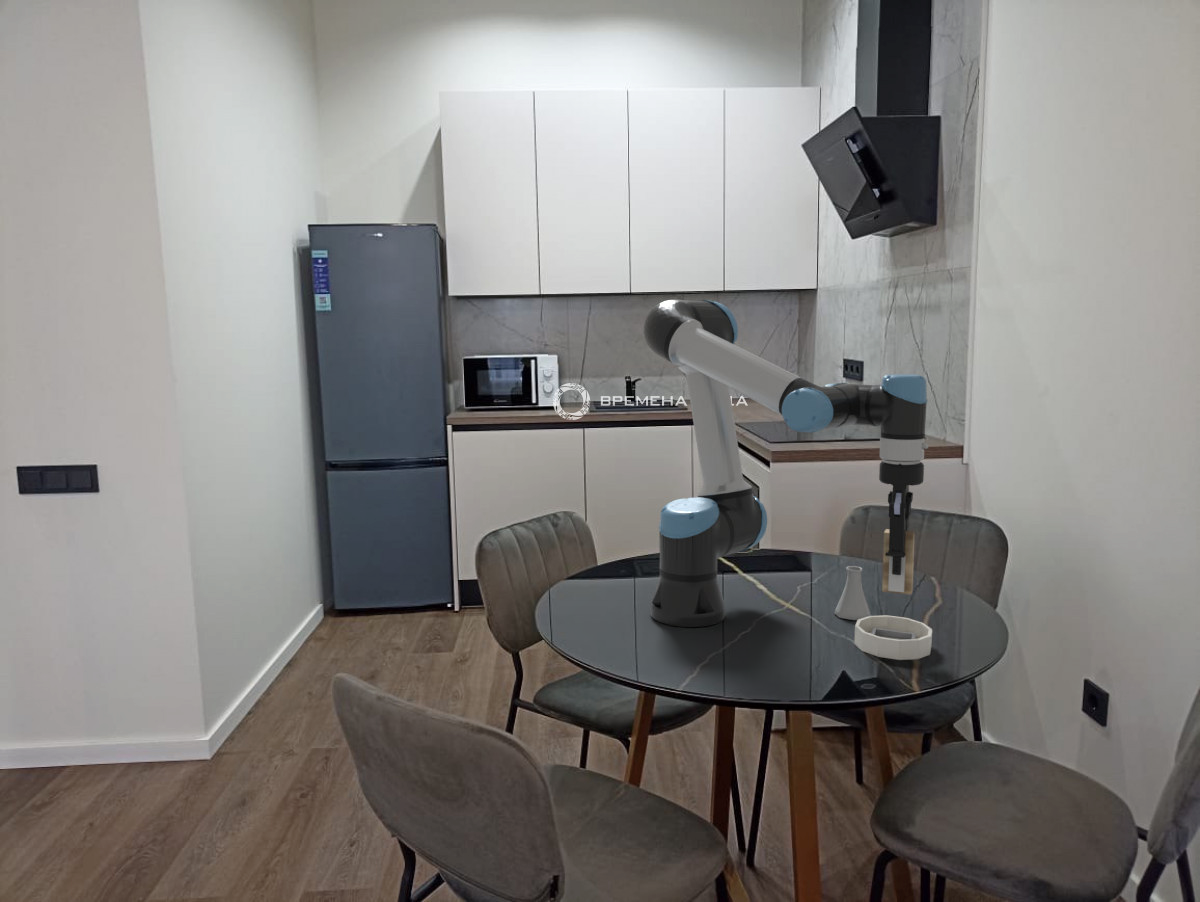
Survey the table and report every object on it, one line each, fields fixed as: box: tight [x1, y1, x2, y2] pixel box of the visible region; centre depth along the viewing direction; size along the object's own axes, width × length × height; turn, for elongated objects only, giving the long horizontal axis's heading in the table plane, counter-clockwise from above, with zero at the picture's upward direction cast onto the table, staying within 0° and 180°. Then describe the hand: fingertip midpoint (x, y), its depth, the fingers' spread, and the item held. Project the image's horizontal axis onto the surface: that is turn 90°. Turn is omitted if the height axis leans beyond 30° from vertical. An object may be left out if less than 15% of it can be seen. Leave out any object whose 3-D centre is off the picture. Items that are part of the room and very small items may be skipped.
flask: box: [834, 565, 872, 621], centre depth 176 cm, size 7×7×10 cm
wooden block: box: [881, 528, 916, 596], centre depth 158 cm, size 5×3×11 cm, turn 66°
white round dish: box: [853, 614, 933, 661], centre depth 160 cm, size 13×13×4 cm
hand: (897, 588), depth 158 cm, fingers closed on wooden block, 3 cm apart
